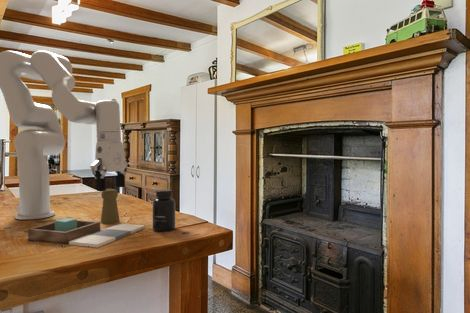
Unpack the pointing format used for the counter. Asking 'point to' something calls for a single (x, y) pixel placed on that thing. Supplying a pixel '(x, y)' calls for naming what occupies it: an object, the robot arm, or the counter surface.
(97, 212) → the counter surface
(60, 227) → the teal cube
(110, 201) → the cork
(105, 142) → the robot arm
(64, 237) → the dice tray
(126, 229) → the board
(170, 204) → the supplement bottle
